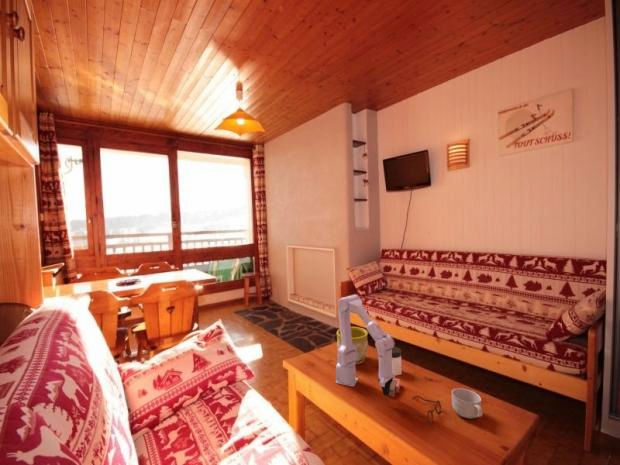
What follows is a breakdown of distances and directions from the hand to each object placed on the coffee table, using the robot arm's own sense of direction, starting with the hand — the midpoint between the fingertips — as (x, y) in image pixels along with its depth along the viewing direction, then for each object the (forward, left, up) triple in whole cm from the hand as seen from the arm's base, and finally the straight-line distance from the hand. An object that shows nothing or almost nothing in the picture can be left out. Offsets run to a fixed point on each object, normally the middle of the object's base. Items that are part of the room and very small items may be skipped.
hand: (386, 394), depth 129 cm
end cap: (0, +14, -4) cm, 15 cm away
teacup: (+32, +5, -5) cm, 33 cm away
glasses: (+14, +1, -5) cm, 15 cm away
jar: (-2, +29, -5) cm, 29 cm away
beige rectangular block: (+1, +11, -5) cm, 12 cm away
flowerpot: (-26, +34, -5) cm, 43 cm away
